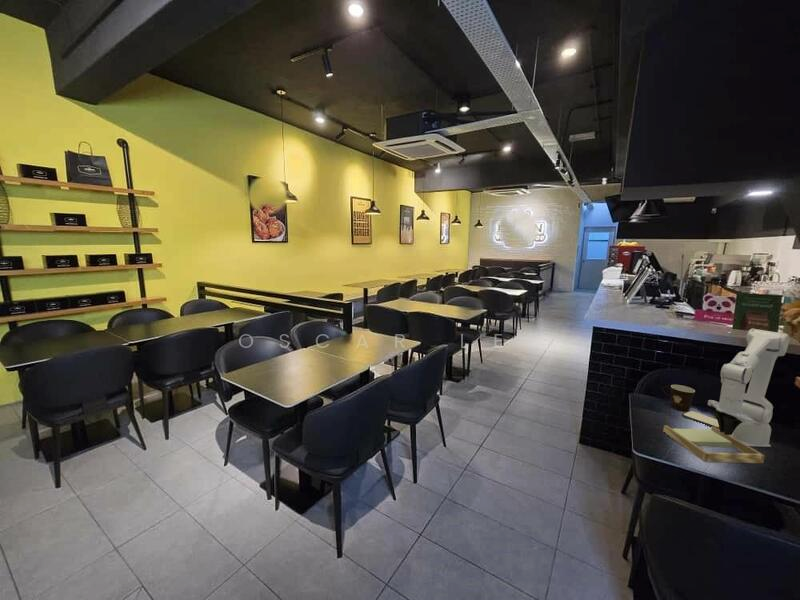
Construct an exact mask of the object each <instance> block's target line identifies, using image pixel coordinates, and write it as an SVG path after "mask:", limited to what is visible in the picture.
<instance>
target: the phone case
mask: <svg viewBox="0 0 800 600" xmlns="http://www.w3.org/2000/svg"><path fill="white" fill-rule="evenodd" d="M681 417H683V419H684V418H685V419H688V420H690V421H692V420H693V422H695V421H696V422H695V423H698V422H699V423H698V424H700V423H702V424H701V425H703V424H705V425H704V426H706V425H707V426H706V427H708V426H709V427H708V428H711V427H716V428H718V429H719V424H718V421H717V418H713V417H710V416H708V415H704V414H702V413H699V412H697V411H693V410H689V411H688V412H683V413H682V414H681Z"/></svg>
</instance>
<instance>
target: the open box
mask: <svg viewBox="0 0 800 600" xmlns="http://www.w3.org/2000/svg"><path fill="white" fill-rule="evenodd" d="M673 429H674V428H672V427H670V426H668V425H666V424H665V425H664V426H663V431H662V432H663V433H664V432H665V433H666V434H665V433H664V434H665V435H667V436H668V435H669V436H670V437H669V436H668V437H669V438H671V439H672V438H673V439H672V440H674V441H675V442H676V441H677V442H676V443H678V444H679V443H680V445H681V446H682V445H683V446H682V447H684V448H685V449H686V448H687V449H686V450H688V451H689V450H690V451H689V452H690V453H692V452H693V453H694V454H693V453H692V454H693V455H695V456H696V457H698V458H699V459H700V458H701V459H700V460H701V461H703V460H704V461H703V462H705V461H706V462H705V463H734V464H735V463H740V464H745V463H746V464H764V462H765V459H766V458H765V457H766V454H764V453H761V452H759V451H757V450H756V449H754V448H753V447H752V446H748V445H746V444H744V443H742V442H741V441H739V440H737V439H735V438H734V437H732V436H730V435H725V434H724V432H720V429H718V428H716V427H712V428H711V429H710V430H712V431H713V432H715V433H717V434H719V435H720V436H722V437H724V438H725V439H727V440H729V441H731V442H732V444H731V447H733V448H734V449H736V450H738V451H740V452H714V451H713V452H711V451H710V452H708V451H706V450H704V449H702V448H701V446H697V445H695V444H694V443H692V442H691V441H689V440H688V439H686V438H685V437H683V436H682V435H680V434H679V433H677V432H676V431H674V430H673Z"/></svg>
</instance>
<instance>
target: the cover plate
mask: <svg viewBox="0 0 800 600" xmlns="http://www.w3.org/2000/svg"><path fill="white" fill-rule="evenodd" d="M672 429H673V430H674V431H676V432H677V433H679V434H680V435H682V436H683V437H685V438H686V439H688V440H689V441H691V442H692V443H694V444H695V445H697V446H698V447H701V446H708V447H707V448H710V447H711V448H712V447H714V448H718V447H719V448H731V447H732V446H731V444H732V442H731V441H729V440H727V439H725V438H724V437H722V436H720V435H719V434H717V433H715V432H713V431H712V430H711V429H709V428H672Z"/></svg>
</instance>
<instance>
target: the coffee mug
mask: <svg viewBox="0 0 800 600" xmlns="http://www.w3.org/2000/svg"><path fill="white" fill-rule="evenodd" d="M665 388H668V389H669V390H670V395H668V393H666V391H665ZM661 390H662V392H663V394H664V395H665V396H667V398H668V399H669V400H670V407H671V408H672V409H673V410H675V411H678V412H681V413H682V412H683V413H686V412H688V411H690V408H691V406H692V402H693V400H694V396H695V392H696V390H695V389H693V388H692V387H689V386H686V385H680V384H671V385H670V386H669V385H664V386H662V387H661Z"/></svg>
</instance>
